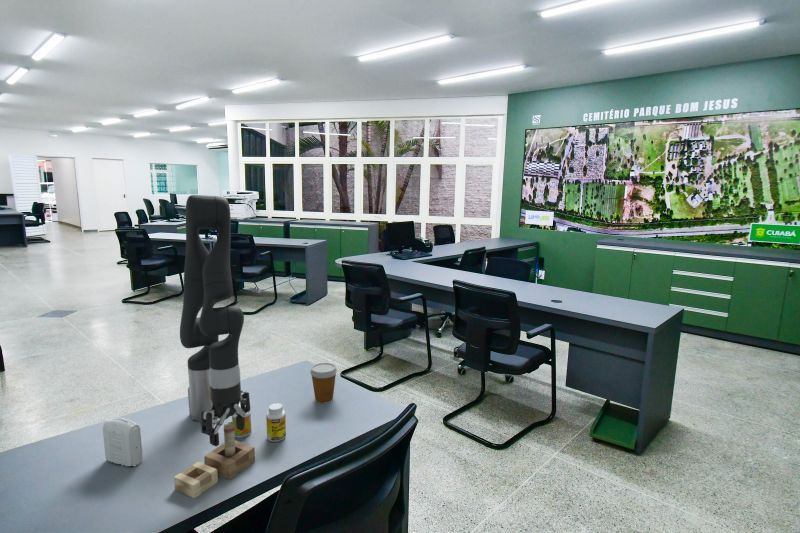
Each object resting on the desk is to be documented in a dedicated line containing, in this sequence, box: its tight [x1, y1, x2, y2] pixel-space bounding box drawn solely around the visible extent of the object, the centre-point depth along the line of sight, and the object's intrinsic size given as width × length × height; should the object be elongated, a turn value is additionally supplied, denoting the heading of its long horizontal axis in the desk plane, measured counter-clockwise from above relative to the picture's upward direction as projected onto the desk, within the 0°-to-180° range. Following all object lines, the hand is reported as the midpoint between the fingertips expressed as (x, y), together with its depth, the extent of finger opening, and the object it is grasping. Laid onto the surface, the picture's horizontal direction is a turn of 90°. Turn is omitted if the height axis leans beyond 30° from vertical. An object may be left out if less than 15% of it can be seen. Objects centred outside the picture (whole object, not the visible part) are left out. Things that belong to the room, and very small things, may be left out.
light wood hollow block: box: [173, 461, 219, 499], centre depth 110 cm, size 7×7×4 cm
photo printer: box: [102, 417, 143, 467], centre depth 119 cm, size 10×4×12 cm, turn 72°
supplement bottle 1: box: [231, 403, 252, 439], centre depth 133 cm, size 5×5×10 cm
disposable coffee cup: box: [309, 362, 338, 404], centre depth 156 cm, size 10×10×12 cm
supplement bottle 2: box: [265, 402, 287, 443], centre depth 131 cm, size 6×6×10 cm
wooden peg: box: [223, 421, 236, 458], centre depth 118 cm, size 3×3×12 cm
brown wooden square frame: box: [203, 440, 256, 480], centre depth 118 cm, size 9×9×4 cm
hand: (228, 437), depth 117 cm, fingers open, 8 cm apart
